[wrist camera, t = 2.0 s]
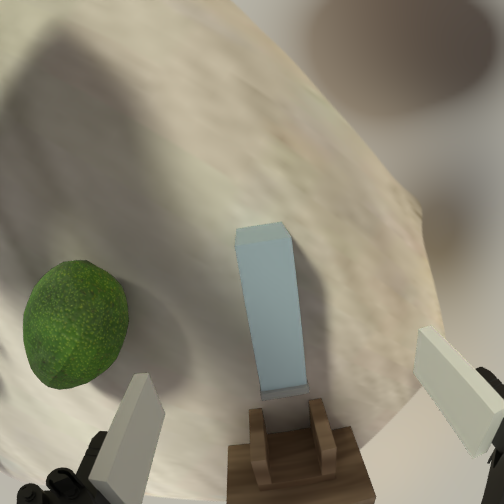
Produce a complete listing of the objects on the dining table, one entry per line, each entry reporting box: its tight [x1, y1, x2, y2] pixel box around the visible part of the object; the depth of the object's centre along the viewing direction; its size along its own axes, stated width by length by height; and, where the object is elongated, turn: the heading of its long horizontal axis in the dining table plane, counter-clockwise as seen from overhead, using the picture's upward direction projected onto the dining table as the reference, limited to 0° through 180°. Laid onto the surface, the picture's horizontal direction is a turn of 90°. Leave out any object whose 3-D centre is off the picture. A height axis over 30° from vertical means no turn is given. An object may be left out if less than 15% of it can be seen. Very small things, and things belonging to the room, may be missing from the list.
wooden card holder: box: [227, 398, 376, 504], centre depth 29 cm, size 8×16×12 cm, turn 99°
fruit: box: [23, 260, 129, 390], centre depth 25 cm, size 15×10×10 cm, turn 138°
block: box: [235, 222, 309, 401], centre depth 27 cm, size 14×4×6 cm, turn 9°
